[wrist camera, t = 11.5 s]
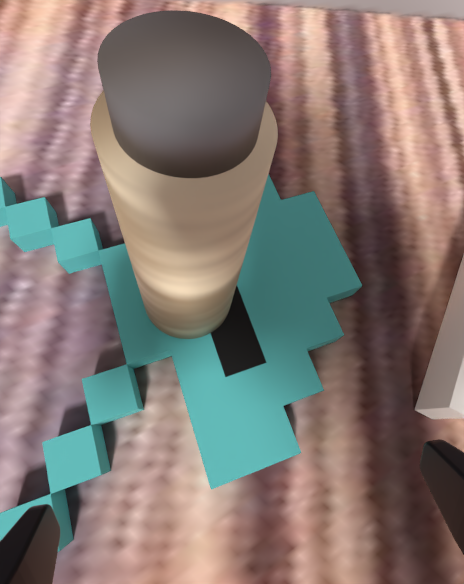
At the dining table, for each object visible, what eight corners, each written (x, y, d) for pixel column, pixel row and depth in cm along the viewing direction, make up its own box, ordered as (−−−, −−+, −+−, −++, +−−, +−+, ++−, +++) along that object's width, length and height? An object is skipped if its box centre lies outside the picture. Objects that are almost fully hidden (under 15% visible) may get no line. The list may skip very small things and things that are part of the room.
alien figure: (30, 554, 16) (400, 405, 20) (3, 573, 14) (422, 403, 18) (-16, 207, 23) (269, 137, 26) (-39, 185, 21) (274, 113, 24)
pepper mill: (248, 305, 19) (337, 86, 8) (178, 357, 17) (160, 180, 6) (196, 245, 20) (205, -21, 9) (126, 289, 18) (27, 34, 7)
